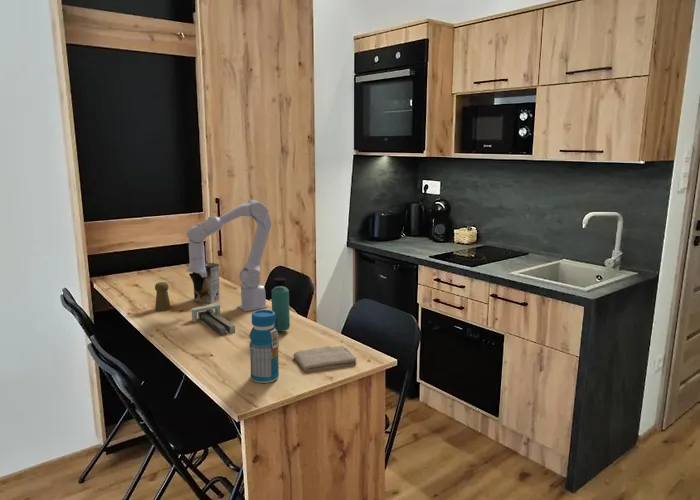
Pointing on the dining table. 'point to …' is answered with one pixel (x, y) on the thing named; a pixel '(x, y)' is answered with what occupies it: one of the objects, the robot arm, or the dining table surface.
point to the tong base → (211, 323)
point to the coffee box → (209, 285)
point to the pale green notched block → (204, 308)
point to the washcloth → (324, 358)
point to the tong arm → (222, 322)
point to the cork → (162, 297)
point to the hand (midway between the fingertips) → (198, 291)
